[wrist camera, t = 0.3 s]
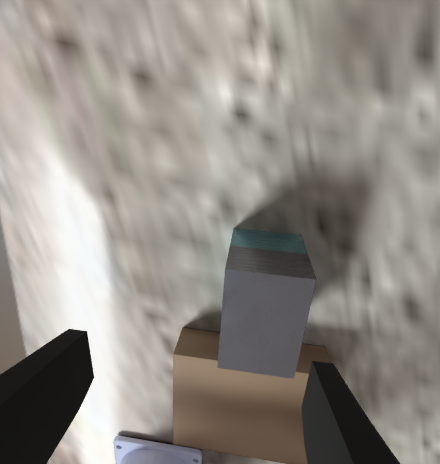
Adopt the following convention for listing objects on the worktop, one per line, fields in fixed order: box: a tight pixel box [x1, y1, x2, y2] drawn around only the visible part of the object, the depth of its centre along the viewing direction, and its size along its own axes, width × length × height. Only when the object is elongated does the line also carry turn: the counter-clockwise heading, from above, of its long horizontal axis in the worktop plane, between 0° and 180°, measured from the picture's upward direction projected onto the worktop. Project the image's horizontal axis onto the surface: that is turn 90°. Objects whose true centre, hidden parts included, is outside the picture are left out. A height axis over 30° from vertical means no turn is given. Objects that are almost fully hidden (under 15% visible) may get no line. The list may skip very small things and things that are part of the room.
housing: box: [217, 228, 316, 379], centre depth 17 cm, size 6×4×5 cm, turn 177°
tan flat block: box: [173, 328, 330, 464], centre depth 21 cm, size 9×10×2 cm
